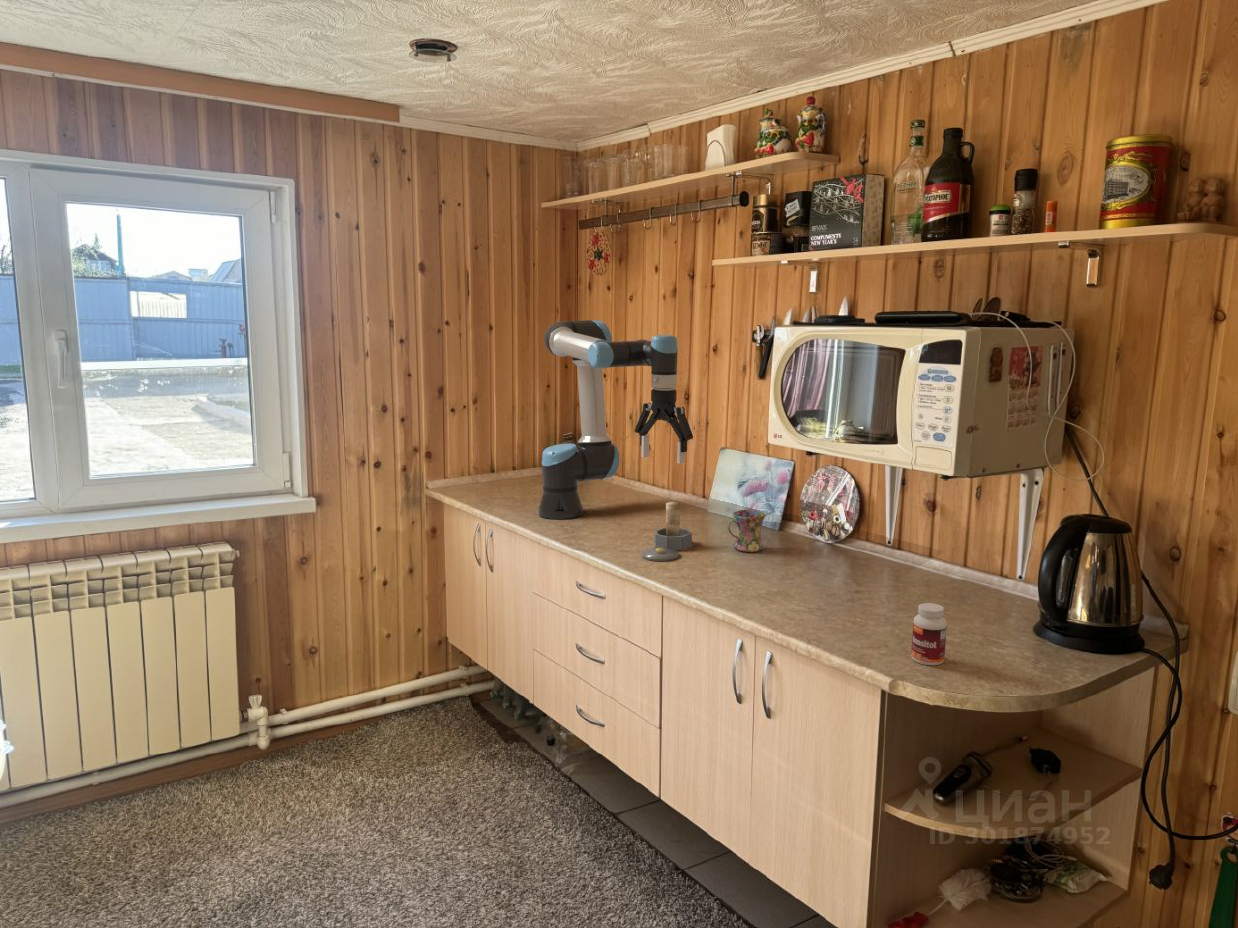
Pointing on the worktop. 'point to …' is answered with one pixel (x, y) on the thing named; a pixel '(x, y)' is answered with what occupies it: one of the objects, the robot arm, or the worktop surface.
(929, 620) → the pill bottle
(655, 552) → the jar lid
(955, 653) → the worktop surface
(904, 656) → the worktop surface
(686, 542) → the candle jar
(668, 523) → the dowel
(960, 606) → the worktop surface
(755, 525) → the mug
